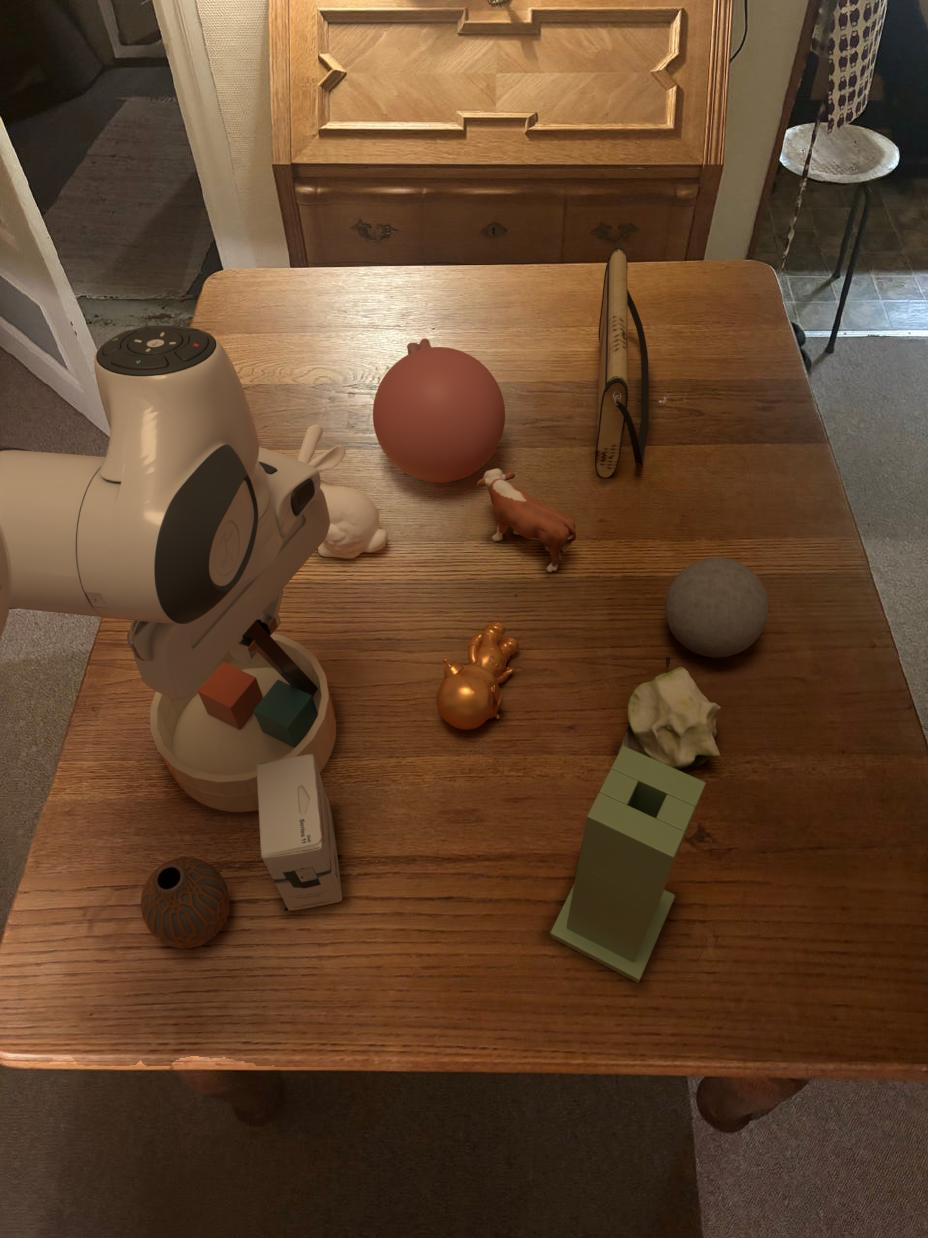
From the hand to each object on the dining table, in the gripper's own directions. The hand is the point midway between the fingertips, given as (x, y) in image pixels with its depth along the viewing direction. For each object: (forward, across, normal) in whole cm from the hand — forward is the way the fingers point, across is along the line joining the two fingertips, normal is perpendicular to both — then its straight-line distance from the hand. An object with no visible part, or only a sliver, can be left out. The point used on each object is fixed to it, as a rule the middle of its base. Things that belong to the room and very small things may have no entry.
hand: (257, 641), depth 77 cm
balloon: (+16, +42, +7) cm, 46 cm away
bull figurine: (+15, +33, -9) cm, 38 cm away
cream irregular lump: (+15, +17, -33) cm, 40 cm away
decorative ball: (+15, +30, -32) cm, 47 cm away
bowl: (+15, -2, +3) cm, 16 cm away
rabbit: (+15, +24, +11) cm, 31 cm away
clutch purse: (+16, +60, -10) cm, 63 cm away
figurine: (+15, +13, -14) cm, 25 cm away
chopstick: (+13, +4, 0) cm, 14 cm away
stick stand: (+15, -2, -35) cm, 38 cm away
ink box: (+15, -10, -10) cm, 21 cm away
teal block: (+14, +1, 0) cm, 14 cm away
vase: (+15, -19, -4) cm, 25 cm away
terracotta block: (+12, -2, +6) cm, 14 cm away
